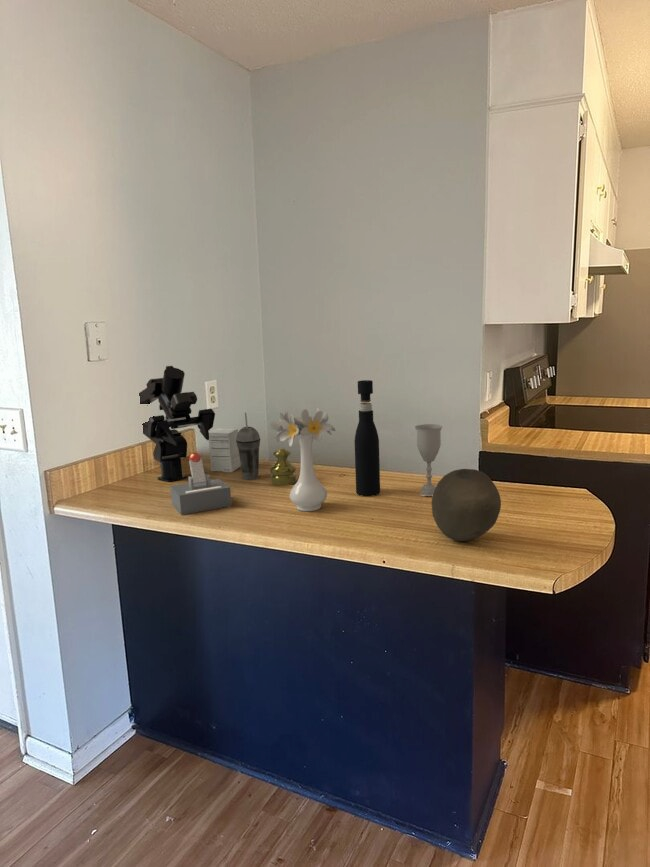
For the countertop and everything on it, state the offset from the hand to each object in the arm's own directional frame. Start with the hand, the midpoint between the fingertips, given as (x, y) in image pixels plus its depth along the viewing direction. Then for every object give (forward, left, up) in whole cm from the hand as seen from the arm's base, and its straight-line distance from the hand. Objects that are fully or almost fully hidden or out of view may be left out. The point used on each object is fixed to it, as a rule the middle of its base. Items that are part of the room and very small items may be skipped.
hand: (192, 441), depth 173 cm
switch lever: (+11, -7, -8) cm, 16 cm away
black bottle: (+40, +26, -15) cm, 50 cm away
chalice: (+54, +34, -15) cm, 66 cm away
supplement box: (-14, +22, -15) cm, 30 cm away
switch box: (+11, -7, -14) cm, 20 cm away
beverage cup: (+1, +19, -15) cm, 24 cm away
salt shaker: (+13, +21, -15) cm, 29 cm away
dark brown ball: (+78, +10, -15) cm, 80 cm away
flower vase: (+35, +7, -15) cm, 39 cm away
